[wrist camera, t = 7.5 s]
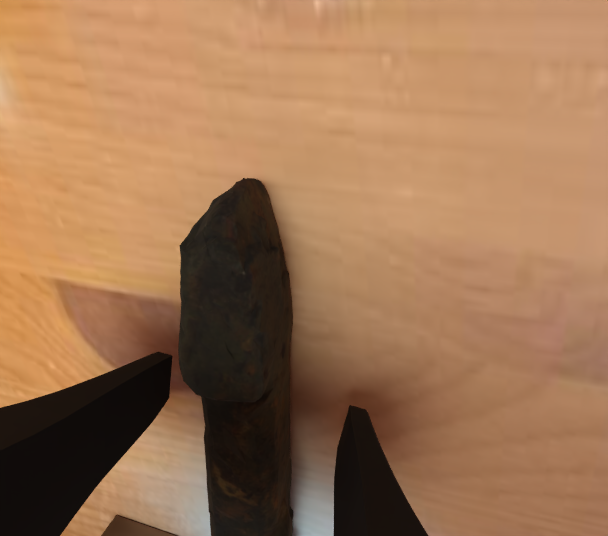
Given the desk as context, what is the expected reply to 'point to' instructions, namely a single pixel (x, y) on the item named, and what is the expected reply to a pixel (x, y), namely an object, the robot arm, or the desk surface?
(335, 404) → the desk surface
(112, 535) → the grey brown flat box
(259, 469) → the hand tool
